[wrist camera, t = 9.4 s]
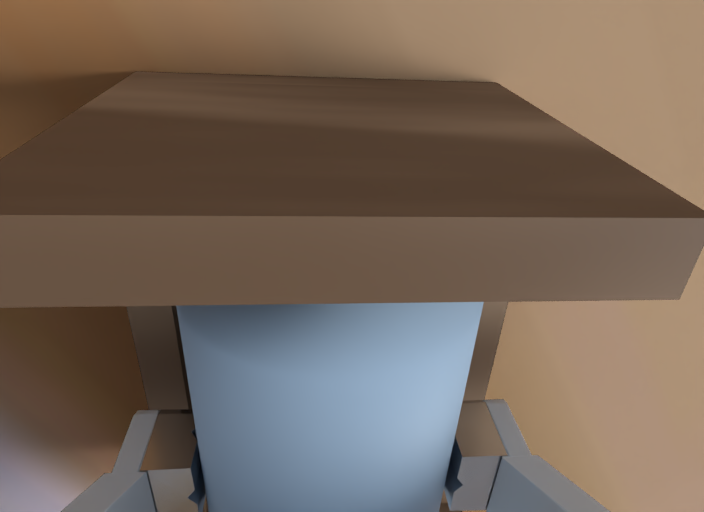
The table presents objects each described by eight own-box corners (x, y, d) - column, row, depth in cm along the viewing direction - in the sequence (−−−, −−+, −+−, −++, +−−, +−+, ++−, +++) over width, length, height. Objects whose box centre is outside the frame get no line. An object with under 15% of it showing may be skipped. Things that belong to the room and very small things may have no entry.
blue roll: (404, 469, 16) (444, 672, 12) (234, 476, 16) (203, 691, 11) (444, 201, 12) (537, 361, 7) (203, 198, 11) (128, 369, 6)
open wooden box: (431, 441, 20) (500, 697, 13) (196, 450, 19) (136, 729, 12) (496, 82, 13) (716, 218, 6) (135, 71, 12) (-84, 214, 5)
